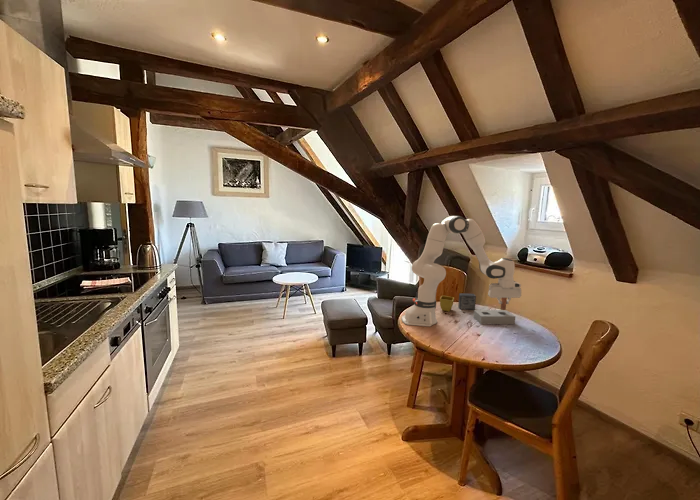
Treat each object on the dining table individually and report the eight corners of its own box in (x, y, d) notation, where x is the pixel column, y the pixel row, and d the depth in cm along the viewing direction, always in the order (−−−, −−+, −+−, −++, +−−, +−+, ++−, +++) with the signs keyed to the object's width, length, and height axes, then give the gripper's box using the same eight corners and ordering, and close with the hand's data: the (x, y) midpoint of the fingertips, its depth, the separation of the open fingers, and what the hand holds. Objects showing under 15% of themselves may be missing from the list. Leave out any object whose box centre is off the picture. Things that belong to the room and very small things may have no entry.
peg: (501, 309, 203) (503, 295, 201) (499, 308, 206) (501, 293, 204) (506, 309, 203) (507, 295, 201) (504, 308, 206) (505, 293, 204)
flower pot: (453, 309, 226) (454, 297, 224) (451, 313, 218) (452, 300, 217) (441, 307, 230) (441, 295, 228) (439, 311, 222) (439, 298, 220)
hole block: (480, 323, 200) (481, 316, 199) (473, 317, 211) (474, 310, 210) (514, 324, 200) (515, 316, 199) (506, 317, 211) (506, 310, 210)
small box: (472, 307, 231) (473, 293, 229) (475, 310, 224) (476, 296, 223) (458, 306, 232) (458, 292, 230) (460, 309, 225) (461, 295, 224)
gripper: (491, 284, 198) (489, 305, 201) (523, 284, 199) (521, 305, 201) (487, 281, 204) (485, 302, 207) (518, 281, 205) (516, 302, 207)
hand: (503, 303), depth 204 cm, fingers closed on peg, 3 cm apart
